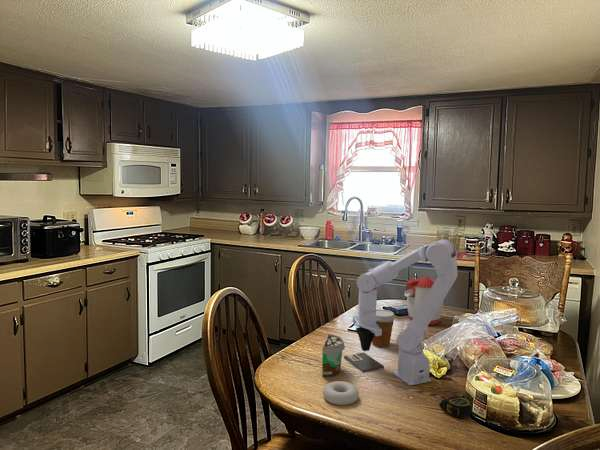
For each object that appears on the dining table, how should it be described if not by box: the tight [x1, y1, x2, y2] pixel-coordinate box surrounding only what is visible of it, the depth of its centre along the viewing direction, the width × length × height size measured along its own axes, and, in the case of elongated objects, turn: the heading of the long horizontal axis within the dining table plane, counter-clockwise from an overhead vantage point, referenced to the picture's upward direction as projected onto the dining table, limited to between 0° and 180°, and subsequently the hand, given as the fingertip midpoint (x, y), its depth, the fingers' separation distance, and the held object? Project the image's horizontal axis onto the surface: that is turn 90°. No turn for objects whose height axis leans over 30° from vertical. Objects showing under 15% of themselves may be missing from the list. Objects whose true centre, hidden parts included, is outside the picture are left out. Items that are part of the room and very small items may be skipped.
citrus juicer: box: [403, 275, 445, 326], centre depth 193 cm, size 16×17×20 cm
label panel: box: [343, 352, 385, 373], centre depth 149 cm, size 12×8×1 cm, turn 24°
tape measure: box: [438, 395, 473, 419], centre depth 118 cm, size 7×7×4 cm
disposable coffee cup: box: [371, 308, 396, 348], centre depth 166 cm, size 10×10×12 cm
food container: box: [321, 333, 346, 378], centre depth 142 cm, size 12×6×10 cm, turn 168°
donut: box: [322, 380, 360, 406], centre depth 126 cm, size 10×4×10 cm
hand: (365, 350), depth 147 cm, fingers closed
